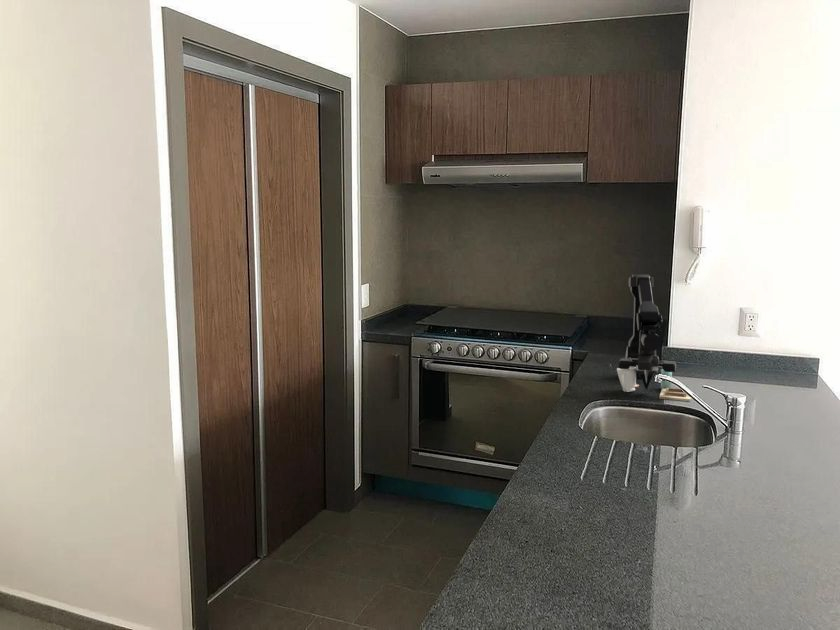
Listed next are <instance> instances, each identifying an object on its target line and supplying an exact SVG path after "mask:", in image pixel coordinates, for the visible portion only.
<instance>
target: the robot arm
mask: <svg viewBox="0 0 840 630" xmlns="http://www.w3.org/2000/svg"><path fill="white" fill-rule="evenodd" d="M628 287H629V288H630V289H629V290H630V293H631V294H632V296H633V299H634V300H633V325H632V326H633V327H632V329H633V330H632V331H633V332H632V336H631V337H630V338H629V340H628V345H627V346H626V351H625V357H622V358H620V359H619V361H618V368H620V369H628V368H629V367H630V366H631V367H636V379H641V380H642V383H643V386H644V390H649V386H650V383H651V381H652V379H653V376H654V375H655V374H658V373H659V370H661V369H663V370H664V371H665V372H672V373H675V372H676V370H677V363H676V361H674V360H664V361H663V362H660V357H659V356H658V355H657V350H658V349H659V348H660V347H661V345H662V340H661V337H660V336H659V335H658V332H662V331H663V329H664V328H663V327H664V322H663V315H662V314H661V312H659V307H658V306H657V305H656V304H655V303H654V299H653V291H652V288H653V287H654V276H650V274H632V275H631V276H630V277H629V278H628ZM647 371H648V372H647Z"/></svg>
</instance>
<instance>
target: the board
mask: <svg viewBox="0 0 840 630" xmlns="http://www.w3.org/2000/svg"><path fill="white" fill-rule="evenodd" d="M681 389H682V388H675V387H671V388H666V389H664V388H662V389H661V391H660V393H659V396H658V399H659V400H667V399H669V401H679V402H680V401H681V402H691V401H692V397H689V396H688V395H687V394H686V393H685V392H683V391H682V390H681Z"/></svg>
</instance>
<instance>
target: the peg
mask: <svg viewBox="0 0 840 630" xmlns="http://www.w3.org/2000/svg"><path fill="white" fill-rule="evenodd" d="M660 370H661V372H660V373H661V374H663V375H667V376H670V377H672V378H673V372H665V371H664V370H663V369H660ZM662 388H664V389H666V388H672V383H670V382H667V381H661V380H660V390H662Z"/></svg>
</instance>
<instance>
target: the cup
mask: <svg viewBox="0 0 840 630" xmlns="http://www.w3.org/2000/svg"><path fill="white" fill-rule="evenodd" d="M616 372H617V375H618V379H619V382H620V385H621V387H622V391H623V392H625V393H629V392H634V391H636V387H635V385H636V384H637V378H636V367H631V366H630V367H629V368H628V369H620V368H619V367H617V368H616Z"/></svg>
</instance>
